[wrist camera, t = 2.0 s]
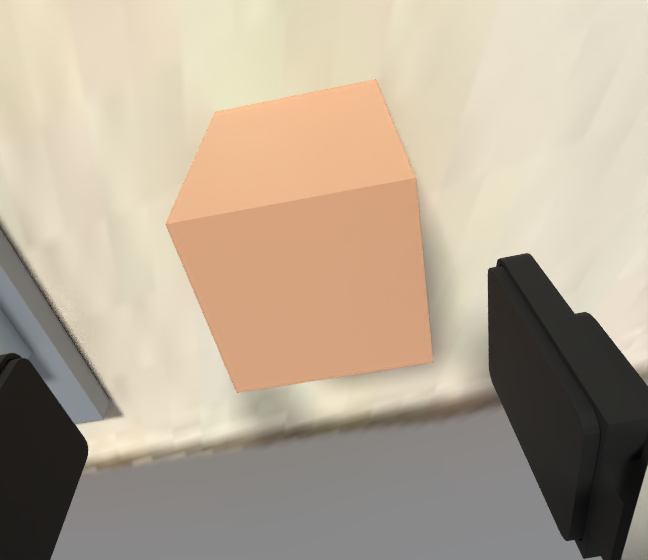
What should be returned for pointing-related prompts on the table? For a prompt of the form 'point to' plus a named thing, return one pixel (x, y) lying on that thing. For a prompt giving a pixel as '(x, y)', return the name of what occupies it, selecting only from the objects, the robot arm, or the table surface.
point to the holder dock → (45, 341)
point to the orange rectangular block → (306, 239)
